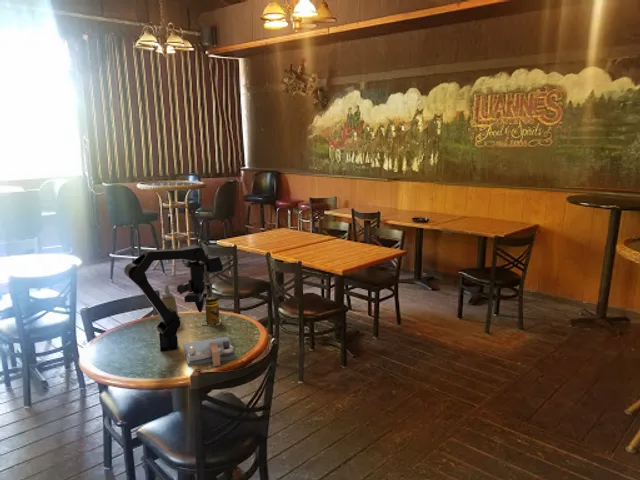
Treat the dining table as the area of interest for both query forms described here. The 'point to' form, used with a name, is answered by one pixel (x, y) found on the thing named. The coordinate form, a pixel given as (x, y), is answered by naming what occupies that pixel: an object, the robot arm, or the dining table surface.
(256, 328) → the dining table surface
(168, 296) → the squeeze bottle
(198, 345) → the slate board
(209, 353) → the swing arm
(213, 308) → the condiment
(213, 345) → the bracket
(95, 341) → the dining table surface
